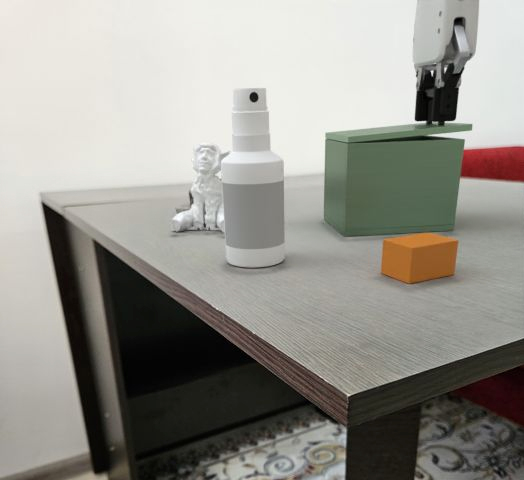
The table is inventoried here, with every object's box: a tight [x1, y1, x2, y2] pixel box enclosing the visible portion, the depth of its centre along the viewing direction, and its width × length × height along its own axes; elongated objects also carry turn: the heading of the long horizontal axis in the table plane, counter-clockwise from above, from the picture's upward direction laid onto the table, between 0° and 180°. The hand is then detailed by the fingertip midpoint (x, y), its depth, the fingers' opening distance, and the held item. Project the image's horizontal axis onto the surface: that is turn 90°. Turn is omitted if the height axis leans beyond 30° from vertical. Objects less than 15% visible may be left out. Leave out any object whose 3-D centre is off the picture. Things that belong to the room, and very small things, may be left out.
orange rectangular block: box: [380, 232, 459, 285], centre depth 54 cm, size 6×4×4 cm
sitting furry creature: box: [168, 141, 231, 234], centre depth 77 cm, size 10×9×12 cm
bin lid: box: [324, 86, 473, 143], centre depth 71 cm, size 16×13×6 cm
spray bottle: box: [220, 87, 286, 269], centre depth 57 cm, size 7×7×18 cm
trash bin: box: [323, 135, 466, 237], centre depth 75 cm, size 16×13×12 cm
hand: (434, 119), depth 72 cm, fingers closed on bin lid, 5 cm apart
